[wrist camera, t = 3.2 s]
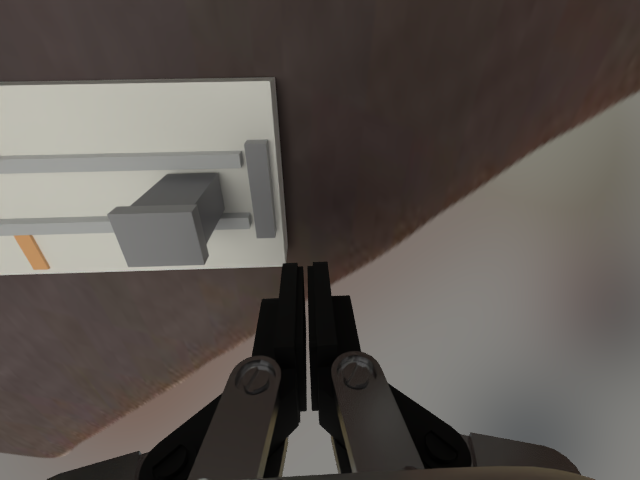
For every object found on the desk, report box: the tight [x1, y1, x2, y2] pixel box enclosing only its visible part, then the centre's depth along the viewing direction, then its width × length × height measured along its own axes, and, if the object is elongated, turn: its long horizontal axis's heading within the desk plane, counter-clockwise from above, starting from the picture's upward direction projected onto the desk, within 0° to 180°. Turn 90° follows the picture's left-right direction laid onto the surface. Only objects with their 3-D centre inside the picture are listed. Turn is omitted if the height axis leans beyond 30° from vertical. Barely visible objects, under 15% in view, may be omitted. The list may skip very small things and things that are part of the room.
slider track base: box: [0, 77, 288, 275], centre depth 20 cm, size 26×12×4 cm, turn 91°
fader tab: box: [107, 173, 225, 267], centre depth 17 cm, size 4×3×6 cm
